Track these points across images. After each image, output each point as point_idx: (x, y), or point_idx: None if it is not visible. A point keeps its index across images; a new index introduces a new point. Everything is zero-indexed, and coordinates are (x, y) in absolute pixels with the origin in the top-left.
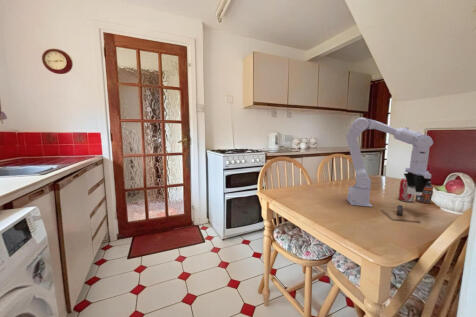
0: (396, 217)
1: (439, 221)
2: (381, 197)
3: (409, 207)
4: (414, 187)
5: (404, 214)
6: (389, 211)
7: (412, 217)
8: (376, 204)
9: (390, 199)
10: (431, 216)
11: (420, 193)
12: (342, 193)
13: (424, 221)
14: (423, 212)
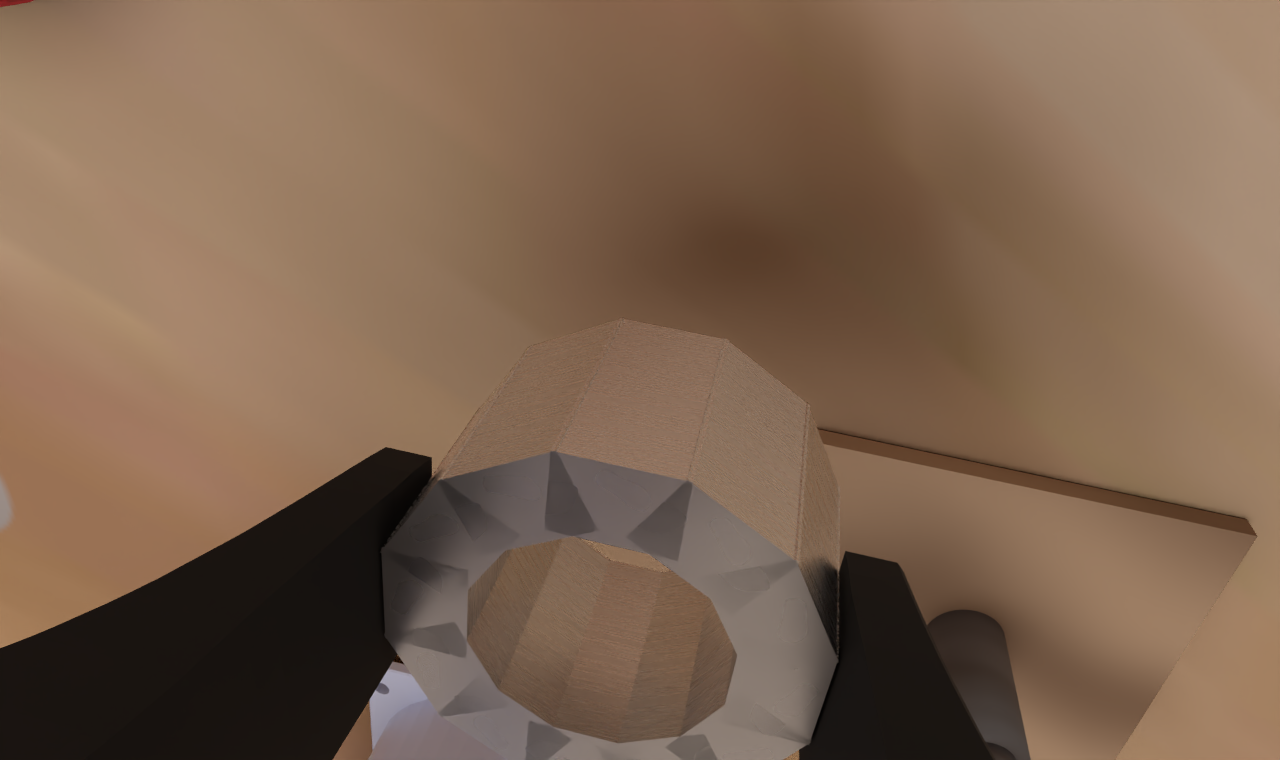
0: (1053, 732)
1: (1257, 102)
2: (14, 276)
3: (485, 122)
4: (491, 560)
5: (937, 549)
6: None
7: (1074, 525)
8: None
9: (69, 175)
10: (982, 43)
11: (834, 511)
12: None
13: (1201, 402)
14: (752, 34)
